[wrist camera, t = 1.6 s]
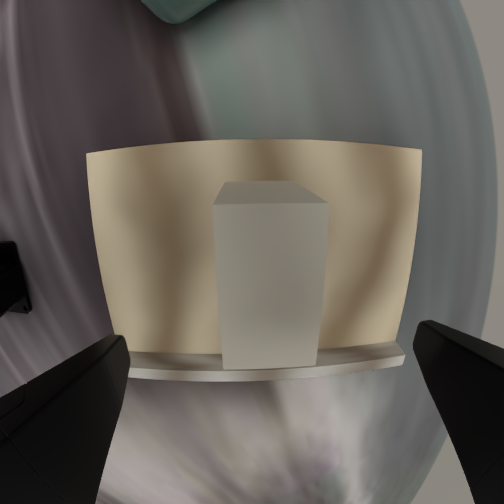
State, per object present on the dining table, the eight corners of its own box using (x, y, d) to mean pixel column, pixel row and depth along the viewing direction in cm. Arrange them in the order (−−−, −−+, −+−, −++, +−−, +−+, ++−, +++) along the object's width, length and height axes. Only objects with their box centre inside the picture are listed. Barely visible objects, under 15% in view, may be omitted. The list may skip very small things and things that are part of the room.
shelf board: (126, 354, 23) (115, 377, 20) (92, 153, 18) (71, 154, 15) (387, 345, 23) (401, 366, 21) (414, 149, 18) (438, 151, 15)
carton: (229, 289, 20) (223, 369, 12) (225, 181, 18) (212, 204, 10) (293, 287, 20) (320, 364, 13) (296, 180, 18) (336, 203, 10)
